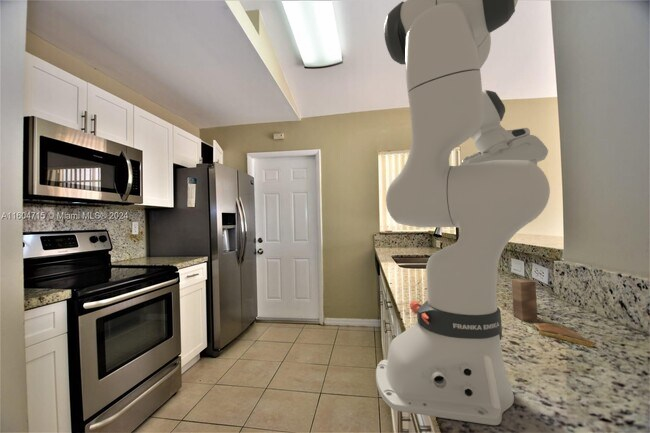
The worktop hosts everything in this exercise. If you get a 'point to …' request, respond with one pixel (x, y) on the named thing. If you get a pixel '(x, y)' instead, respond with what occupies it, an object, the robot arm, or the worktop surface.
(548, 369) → the worktop surface
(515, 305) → the walnut block
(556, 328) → the shard
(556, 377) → the worktop surface
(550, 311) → the worktop surface
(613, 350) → the worktop surface
